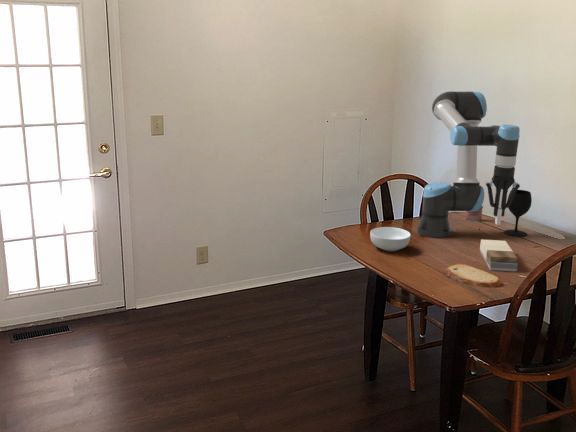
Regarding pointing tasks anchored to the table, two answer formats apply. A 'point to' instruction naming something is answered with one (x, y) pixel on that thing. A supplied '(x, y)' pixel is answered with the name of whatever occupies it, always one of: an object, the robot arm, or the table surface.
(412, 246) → the table surface
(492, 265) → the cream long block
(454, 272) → the bread slice
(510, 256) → the tan brown block
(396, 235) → the cereal bowl
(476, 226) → the table surface
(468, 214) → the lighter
